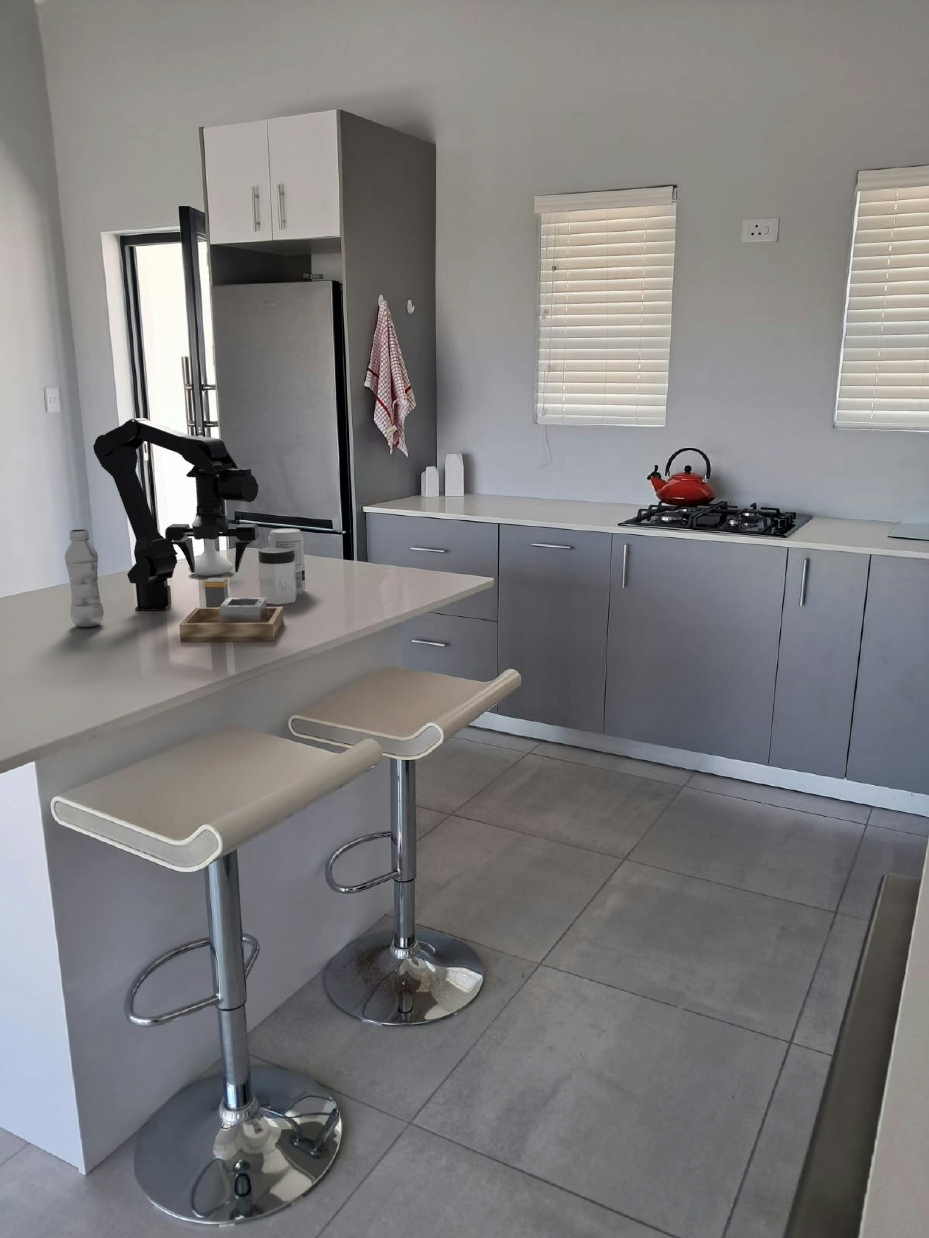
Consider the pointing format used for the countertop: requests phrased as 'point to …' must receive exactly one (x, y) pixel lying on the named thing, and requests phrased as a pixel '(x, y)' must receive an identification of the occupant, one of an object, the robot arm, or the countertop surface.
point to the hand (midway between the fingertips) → (215, 572)
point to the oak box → (228, 627)
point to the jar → (277, 575)
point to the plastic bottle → (83, 580)
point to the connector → (216, 591)
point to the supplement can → (295, 541)
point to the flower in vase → (211, 561)
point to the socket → (243, 610)
